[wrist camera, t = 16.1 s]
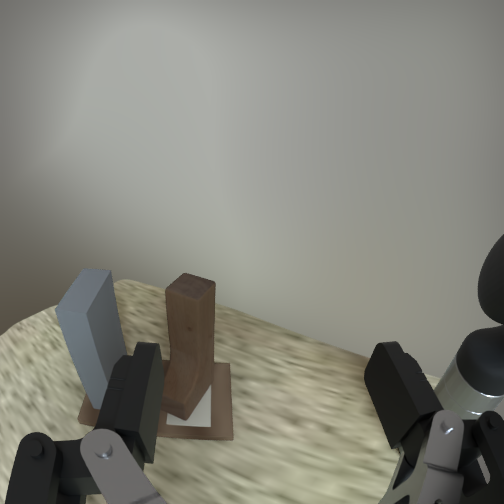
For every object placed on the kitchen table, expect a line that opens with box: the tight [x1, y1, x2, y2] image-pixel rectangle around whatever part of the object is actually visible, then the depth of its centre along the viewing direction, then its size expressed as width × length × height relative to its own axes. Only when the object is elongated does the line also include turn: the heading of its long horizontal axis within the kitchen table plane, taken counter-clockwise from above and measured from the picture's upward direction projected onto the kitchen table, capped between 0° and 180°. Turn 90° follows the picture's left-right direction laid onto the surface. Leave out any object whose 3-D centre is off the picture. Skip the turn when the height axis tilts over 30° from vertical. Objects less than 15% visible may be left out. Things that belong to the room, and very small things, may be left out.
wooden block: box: [161, 273, 216, 421], centre depth 37 cm, size 9×4×18 cm, turn 160°
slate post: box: [55, 269, 127, 409], centre depth 35 cm, size 4×9×18 cm, turn 4°
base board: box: [78, 360, 233, 440], centre depth 40 cm, size 22×14×1 cm, turn 94°
